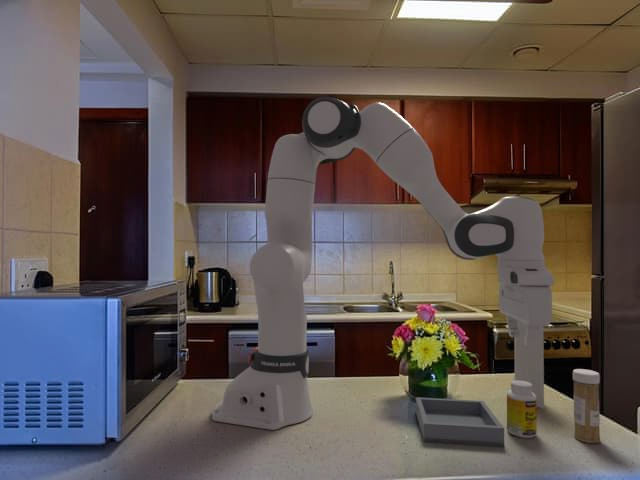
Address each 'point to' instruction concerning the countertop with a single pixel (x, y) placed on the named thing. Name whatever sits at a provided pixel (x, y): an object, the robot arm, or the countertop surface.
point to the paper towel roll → (530, 362)
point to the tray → (458, 422)
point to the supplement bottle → (521, 410)
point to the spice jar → (586, 405)
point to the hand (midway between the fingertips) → (521, 341)
